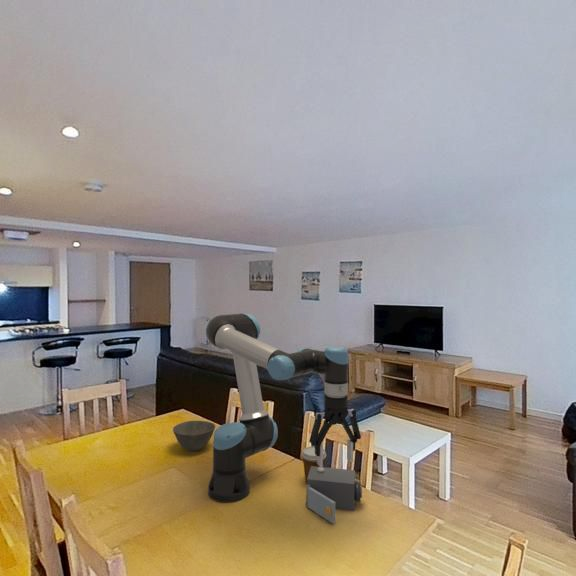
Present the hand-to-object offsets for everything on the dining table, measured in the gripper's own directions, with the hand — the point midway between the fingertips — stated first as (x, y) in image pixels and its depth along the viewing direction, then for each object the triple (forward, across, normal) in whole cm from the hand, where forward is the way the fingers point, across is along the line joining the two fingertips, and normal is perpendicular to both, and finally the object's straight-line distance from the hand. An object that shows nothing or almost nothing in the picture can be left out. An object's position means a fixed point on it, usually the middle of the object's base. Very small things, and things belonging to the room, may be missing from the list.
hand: (335, 462), depth 130 cm
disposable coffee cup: (+18, +2, +23) cm, 29 cm away
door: (+17, -4, +2) cm, 18 cm away
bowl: (+18, -38, +68) cm, 80 cm away
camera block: (+18, +4, +9) cm, 20 cm away
